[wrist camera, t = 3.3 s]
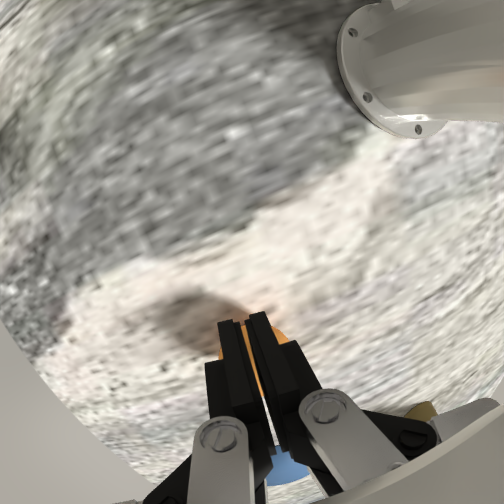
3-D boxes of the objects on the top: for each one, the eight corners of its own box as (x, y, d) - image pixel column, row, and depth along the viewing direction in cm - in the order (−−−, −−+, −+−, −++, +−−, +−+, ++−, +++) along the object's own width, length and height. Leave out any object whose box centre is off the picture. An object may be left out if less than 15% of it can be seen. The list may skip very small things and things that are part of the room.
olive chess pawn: (396, 432, 37) (427, 480, 27) (404, 410, 35) (441, 462, 25) (426, 418, 38) (458, 461, 28) (435, 395, 36) (472, 441, 26)
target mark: (227, 456, 32) (227, 457, 32) (326, 431, 33) (326, 432, 33) (247, 491, 36) (247, 492, 36) (326, 470, 38) (326, 471, 37)
